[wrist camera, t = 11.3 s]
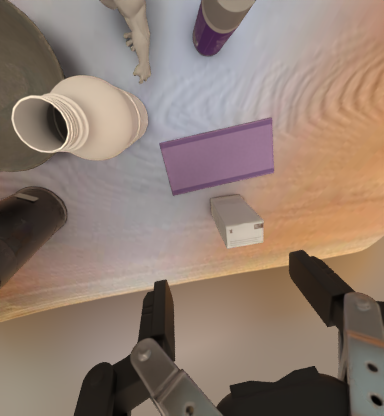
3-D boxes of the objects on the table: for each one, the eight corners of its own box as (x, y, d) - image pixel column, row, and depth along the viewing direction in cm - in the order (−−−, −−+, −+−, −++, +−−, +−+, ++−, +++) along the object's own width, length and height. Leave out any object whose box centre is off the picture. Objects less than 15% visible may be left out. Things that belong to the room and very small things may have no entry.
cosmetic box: (211, 216, 43) (225, 251, 32) (209, 196, 41) (223, 227, 30) (240, 212, 43) (264, 245, 32) (239, 192, 42) (264, 220, 31)
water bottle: (132, 83, 32) (39, 11, 10) (158, 126, 35) (134, 149, 12) (95, 108, 33) (-69, 98, 11) (123, 148, 36) (42, 207, 13)
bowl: (-53, -9, 26) (-171, -73, 17) (101, 43, 30) (71, 13, 21) (-32, 140, 33) (-107, 150, 24) (91, 168, 37) (65, 186, 28)
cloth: (173, 195, 41) (173, 195, 40) (159, 143, 36) (159, 143, 36) (273, 172, 40) (274, 172, 40) (271, 117, 36) (272, 117, 36)
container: (212, 63, 32) (242, 27, 19) (186, 42, 31) (198, -13, 17) (230, 31, 31) (276, -33, 17) (203, 8, 29) (231, -82, 16)
